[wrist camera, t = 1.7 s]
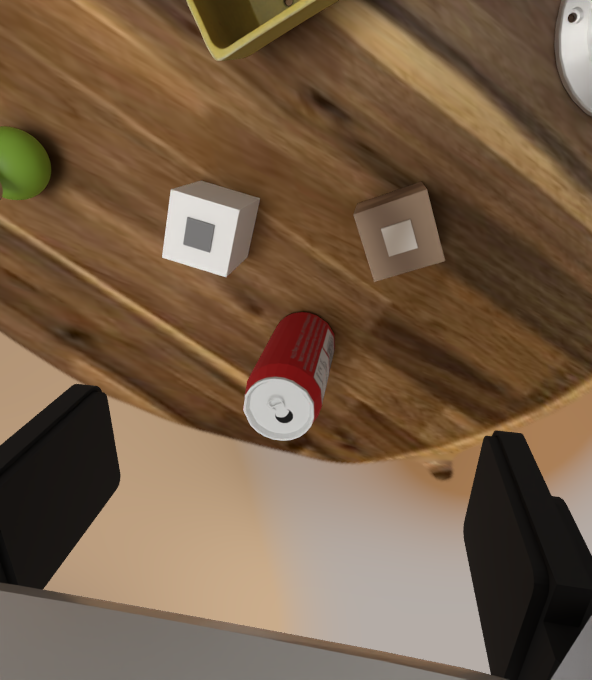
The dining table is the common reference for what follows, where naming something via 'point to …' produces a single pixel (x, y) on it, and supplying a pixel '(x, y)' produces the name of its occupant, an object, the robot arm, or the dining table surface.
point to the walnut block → (399, 232)
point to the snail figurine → (22, 165)
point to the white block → (209, 227)
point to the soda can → (290, 377)
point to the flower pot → (248, 23)
